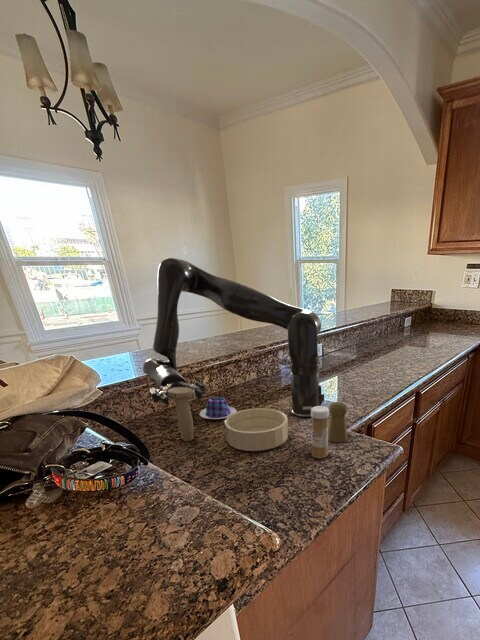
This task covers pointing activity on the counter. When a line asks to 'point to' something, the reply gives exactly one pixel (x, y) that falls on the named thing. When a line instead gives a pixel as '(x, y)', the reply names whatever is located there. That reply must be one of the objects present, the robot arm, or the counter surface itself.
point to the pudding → (217, 409)
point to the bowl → (256, 429)
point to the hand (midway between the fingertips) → (183, 398)
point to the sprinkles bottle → (319, 431)
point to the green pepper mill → (337, 422)
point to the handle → (183, 411)
